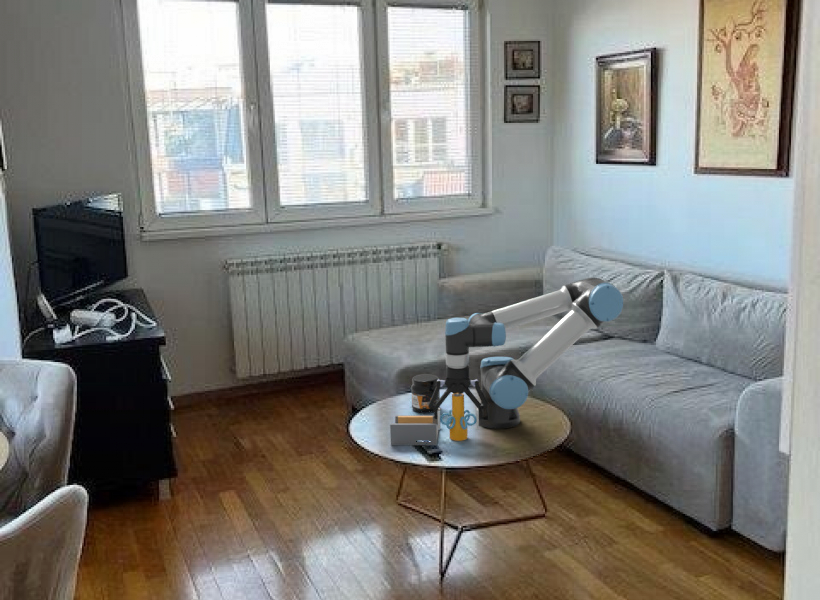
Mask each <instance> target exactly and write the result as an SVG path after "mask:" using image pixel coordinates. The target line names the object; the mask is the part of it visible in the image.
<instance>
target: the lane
mask: <svg viewBox="0 0 820 600" xmlns="http://www.w3.org/2000/svg"><path fill="white" fill-rule="evenodd" d="M398 416H433V423H398ZM394 419H395V420H394V421H395V422H394V423H392V422H391V423H389V426H390V427H389V429H390V433H389V434H390V446H437V445H438V440H439V439H438V438H439V437H438V435H439V431H440V429H438V419H435V418H434V414H432V415H431V414H430V415H429V414H428V415H427V414H426V415H425V414H424V415H423V414H421V415H418V414H416V415H415V414H413V415H412V414H410V415H409V414H408V415H406V414H405V415H403V414H402V415H398V414H397V415H394ZM417 440H429V441H431V442H416V441H417ZM426 443H427V444H426ZM425 444H426V445H425Z"/></svg>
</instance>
